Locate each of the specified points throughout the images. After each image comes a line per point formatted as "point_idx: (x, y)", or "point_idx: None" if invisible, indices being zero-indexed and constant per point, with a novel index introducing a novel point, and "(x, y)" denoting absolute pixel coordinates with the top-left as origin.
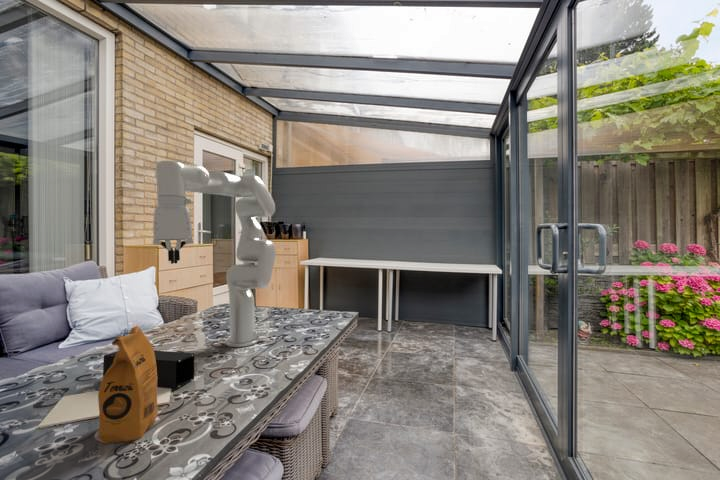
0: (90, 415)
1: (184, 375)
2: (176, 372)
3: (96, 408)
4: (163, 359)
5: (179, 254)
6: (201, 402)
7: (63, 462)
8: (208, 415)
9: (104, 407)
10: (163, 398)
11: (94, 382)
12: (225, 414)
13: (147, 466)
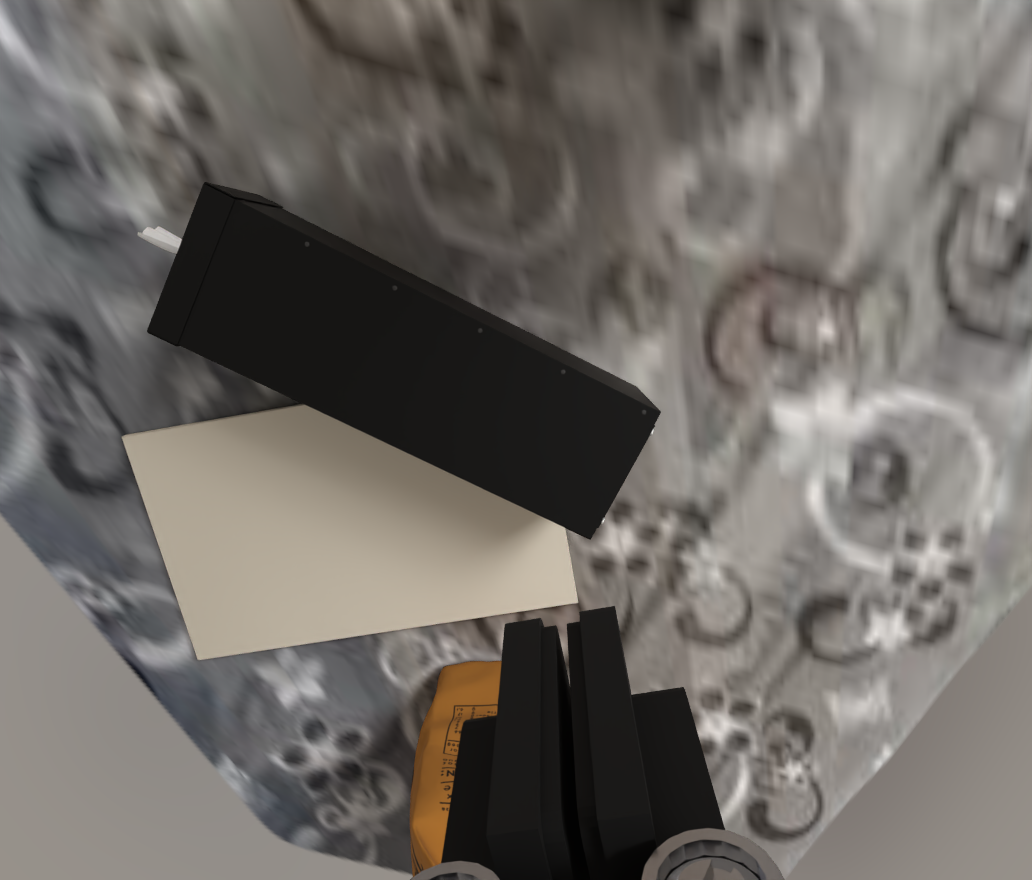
0: (331, 631)
1: (589, 364)
2: (547, 344)
3: (324, 583)
4: (515, 494)
5: (706, 768)
6: (698, 620)
7: (391, 836)
8: (732, 715)
9: None
10: (549, 568)
11: (158, 283)
12: (789, 724)
13: None
